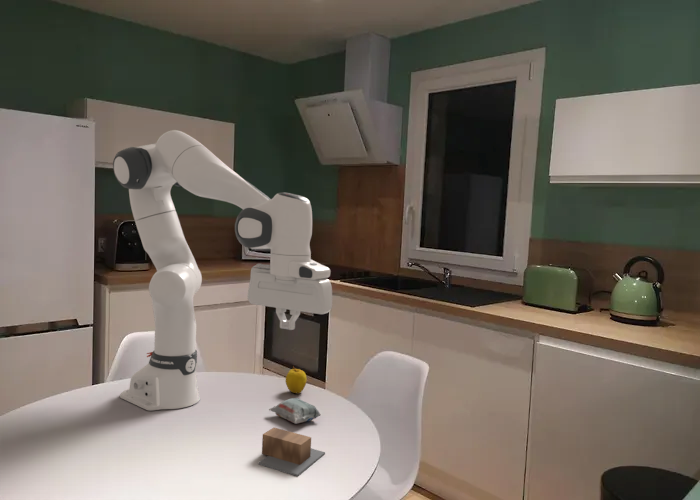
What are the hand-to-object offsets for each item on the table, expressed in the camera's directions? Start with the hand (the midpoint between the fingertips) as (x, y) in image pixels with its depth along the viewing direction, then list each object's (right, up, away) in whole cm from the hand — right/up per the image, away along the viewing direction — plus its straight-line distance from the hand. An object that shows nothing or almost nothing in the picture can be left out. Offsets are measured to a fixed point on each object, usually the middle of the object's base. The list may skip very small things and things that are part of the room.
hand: (287, 328), depth 116 cm
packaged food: (-1, -28, +23) cm, 36 cm away
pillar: (-5, -26, +4) cm, 27 cm away
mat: (+1, -29, +1) cm, 29 cm away
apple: (-3, -26, +43) cm, 51 cm away
